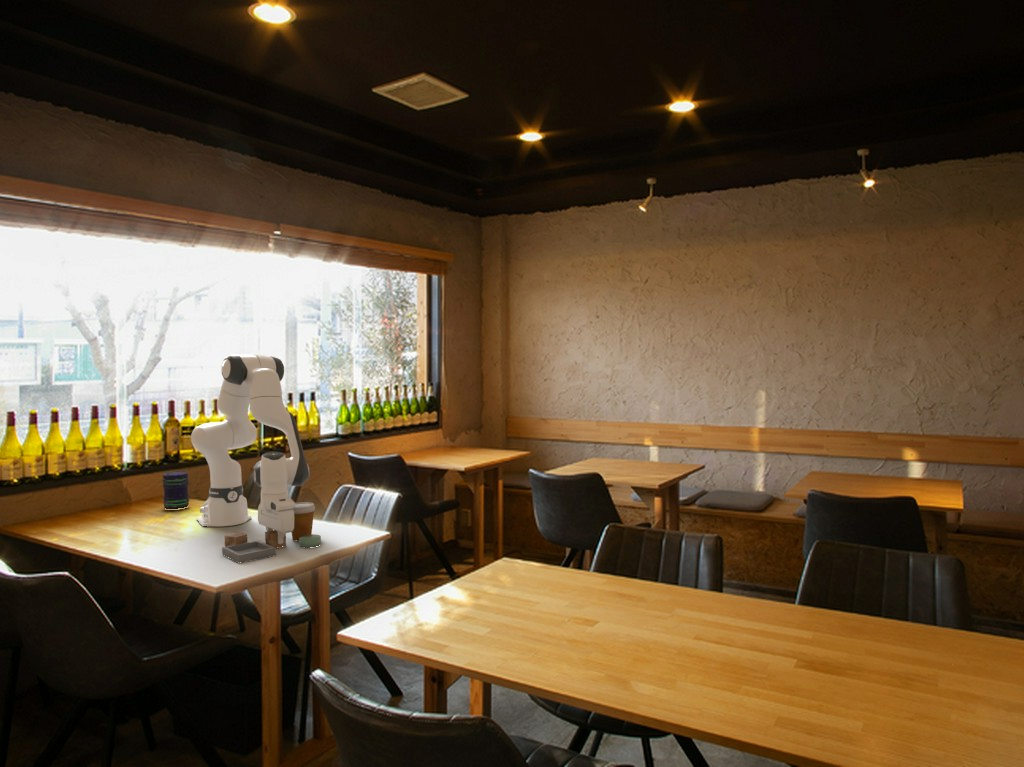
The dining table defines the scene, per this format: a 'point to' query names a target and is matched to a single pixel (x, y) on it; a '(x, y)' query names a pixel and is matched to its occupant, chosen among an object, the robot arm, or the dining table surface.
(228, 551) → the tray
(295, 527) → the disposable coffee cup
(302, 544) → the sponge
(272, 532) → the walnut block
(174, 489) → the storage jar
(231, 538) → the walnut block
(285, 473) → the robot arm
